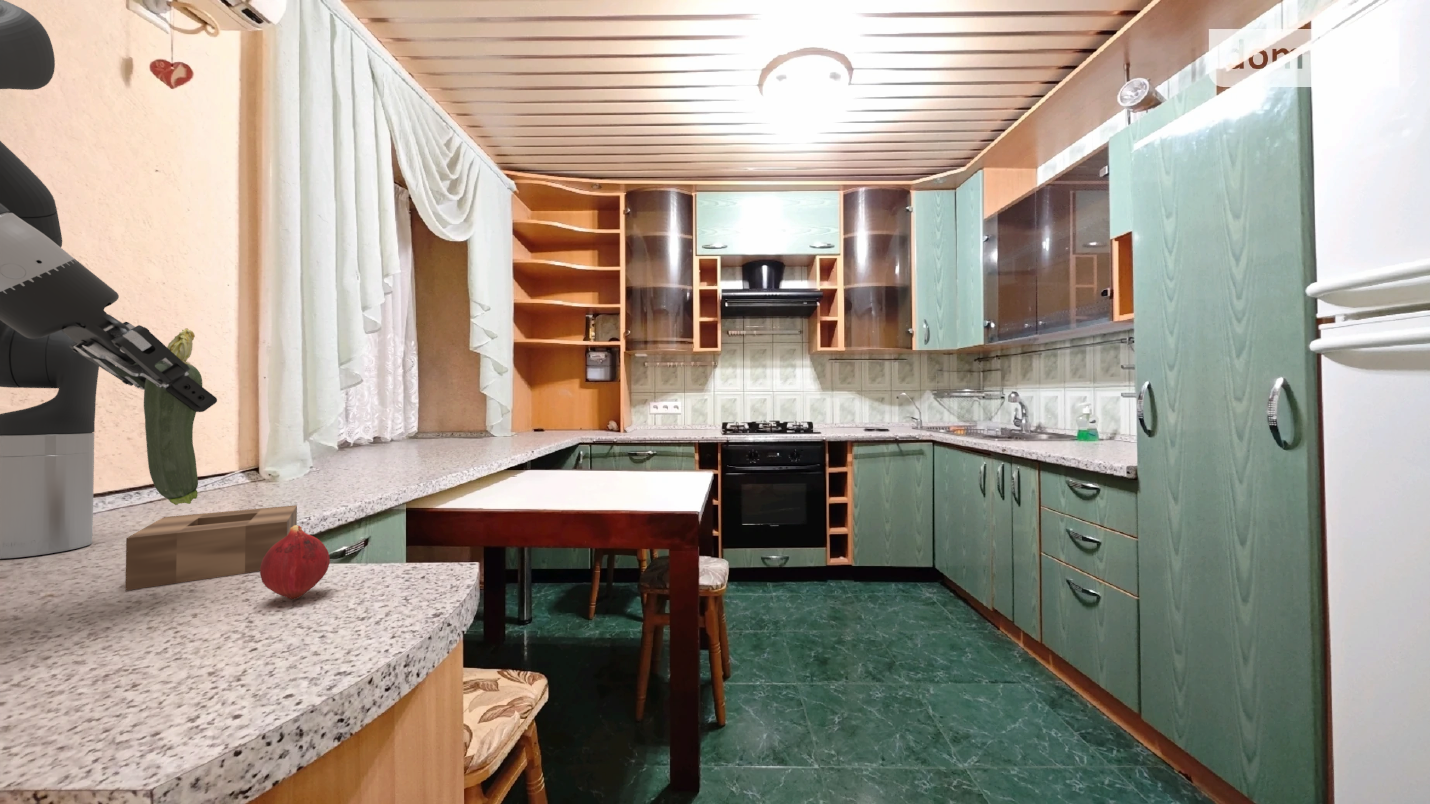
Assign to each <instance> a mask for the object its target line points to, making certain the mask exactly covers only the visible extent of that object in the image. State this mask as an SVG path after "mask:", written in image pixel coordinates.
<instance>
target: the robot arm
mask: <svg viewBox="0 0 1430 804" xmlns="http://www.w3.org/2000/svg"><path fill="white" fill-rule="evenodd" d="M55 61H56V60H55V53H54V47H53V44H52V42H51V38H50V36H49V33H48V31H47V30H46V28H45V27H44V26H43V24H42V23H41V22H40V21H39V20H38V19H37V17H35V16H34V15H33V14H31V13H30V12H28V11H26V10H25V9H24V8H22V7H20V6H19V5H15V4H14V3H11V2H9V1H7V0H0V90H22V91H23V90H24V91H25V90H27V91H28V90H29V91H31V90H32V91H33V90H39V89H42V88H43V87H45V86H47V85H48V84H49V83H50V82H51V80H52V79H53V76H54V75H55V69H56V67H55V65H56V63H55ZM56 205H57V204H56V200H55V197H54V195H53V193H51V191H50V189H48V187H47V186H46V185H45V183H44V182H43V181H42V180H41V179H40V178H39V177H38V176H37V175H36V174H35V172H33V171H32V170H31V168H29V167H28V166H27V165H26V163H24V162H23V161H22V160H21V159H20V158H19V157H18V156H17V155H16V154H15V153H14V152H13V151H12V150H11V149H10V148H9V147H8V146H6V145H5V144H4V142H2V141H1V140H0V388H9V389H11V388H12V389H13V388H16V389H18V388H19V389H58V390H57V393H56V394H55V396H54V397H53V398H51V399H49V400H48V401H45V402H42V403H40V404H37V405H34V406H31V407H28V408H22V409H18V410H13V411H8V412H3V413H0V559H1V560H2V559H16V558H25V557H35V556H41V555H49V554H53V553H60V552H66V551H70V550H75V549H79V548H84V547H87V546H89V545H91V544H93V525H94V523H93V522H94V521H93V520H94V480H95V477H94V476H95V475H94V473H95V470H94V469H95V430H96V429H95V428H96V427H95V423H96V420H95V419H96V400H97V389H98V388H97V387H98V386H97V385H98V380H99V379H98V377H99V371H100V370H99V369H102V370H104V371H106V372H107V373H109V374H111V375H112V376H114V377H115V378H117V379H119V380H120V381H121V382H122V383H123V384H125V385H128V386H131V387H133V386H134V387H135V388H137V389H140V390H143V391H144V388H145V381H146V378H147V379H148V380H150V381H151V382H153V383H154V384H156V386H158V387H159V388H162V389H165V390H166V391H167V392H168V393H170V394H171V395H172V396H174V397H175V398H177V399H178V400H179V401H181V402H182V403H183V404H185V405H186V406H188V407H189V408H190V409H192V410H193V411H195V412H196V413H204V412H205V411H207V410H209V408H211V407H212V406H214V405H215V404H216V403H217V402H218V399H217V397H216V396H215V395H213V394H212V393H211V392H209V391H208V390H207V389H205V388H204V387H203V385H202V386H200V385H199V384H198V383H196V382H195V381H194V380H193V379H191V378H190V377H189V376H187V375H189V373H188V372H187V371H189V370H190V368H189V367H188V365H187V364H185V363H184V362H182V361H181V360H180V359H179V358H178V357H177V356H176V355H175V354H174V353H173V352H171V351H170V350H169V349H168V348H167V347H168V346H167V345H165V344H164V343H163V342H162V341H161V340H160V339H158V338H157V337H156V336H155V335H154V334H153V333H152V332H150V330H149V329H148V328H147V327H145V326H142V325H139V324H138V325H136V326H135V325H133V324H131V323H130V322H129V321H124V322H122V321H120V320H118V319H117V318H115V317H114V316H112V315H111V314H108V313H107V312H106V311H105V308H107V307H108V306H111V305H113V304H114V303H116V301H118V300H119V293H118V292H117V291H116V290H114V288H112V287H111V286H110V285H108V284H107V283H106V282H105V281H103V280H102V279H101V278H100V277H98V276H97V275H95V273H94V272H92V271H91V270H89V269H88V268H87V267H86V266H85V265H83V264H82V263H81V262H79V260H77V259H76V258H74V257H73V256H72V255H71V254H69V253H68V252H67V251H66V250H65V249H64V248H62V246H63V236H62V231H61V225H60V220H59V219H60V218H59V214H58V209H57V206H56ZM157 364H163V365H164V366H166V367H167V369H165V370H164V371H162V372H160V371H159V370H158V369H157V368H156V367H155V365H157Z"/></svg>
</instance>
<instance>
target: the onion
mask: <svg viewBox="0 0 1430 804" xmlns="http://www.w3.org/2000/svg"><path fill="white" fill-rule="evenodd" d="M330 564H331V562H330V554H329V550H328V549H327V546H325V544H324V543H323V542H322V541H321V540H320V539H318V537H315V536H314V535H311V534H308V533H306V532H305V531H304V530H303V527H302V526H300V525H298V524H297V525H294V526H293V527H291V528H290V532H289V534H288V535H287V536H286V537H285V538H283V539H281V540H280V541H278V542H277V543H276V544H274V545H273V546H272V547H271V548H270V549H269V551H268V552H267V553H266V555H265V556H264V558H263V560H262V563H261V569H260V571H259V574H260V575H259V576H260V580H261V582H262V583H263V584H264V586H265V587H266V588H267V589H268V590H269V591H271V592H273V593H275V594H276V595H279V596H282V597H285V598H287V599H288V600H297V599H299V598H301V597H302V596H304V595H305V594H306V593H307V592H309V591H310V590H311V589H313V588H314V587H315V586H316V585H317V584H318V583H319V582H320V581H321V580H322V579H323V578H324V576H325V575H326V574H327V572H328V570H329V567H330Z"/></svg>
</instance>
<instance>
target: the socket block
mask: <svg viewBox="0 0 1430 804" xmlns="http://www.w3.org/2000/svg"><path fill="white" fill-rule="evenodd" d="M297 517H298V505H297V504H293V505H284V506H272V507H262V508H261V507H260V508H251V509H249V508H248V509H241V510H240V509H239V510H228V511H217V512H206V513H203V512H202V513H193V514H184V515H183V514H182V515H171V516H163V517H162V518H160V519H158V520H156V521H154V522H152V523H151V524H149V525H148V526H145V527H144V528H141V529H140V530H138V531H137V532H135V533H133V534H131V535H130V536H129V535H128V537H126V541H125V542H126V543H125V586H124V590H125V591H132V590H138V589H146V588H151V587H158V586H165V585H173V584H180V583H185V582H192V581H193V582H194V581H200V580H201V581H202V580H207V579H214V578H222V577H228V576H234V575H241V574H248V573H249V574H250V573H255V572H260V569H261V563H262V560H263V558H264V556H265V555H266V553H267V552H268V551H269V549H270V548H271V547H272V546H273V545H274V544H276V543H277V542H278V541H280V540H281V539H283V538H285V537H286V536H287V535H288V534H289V532H290V528H291V527H293V526H294V525H298V524H297V523H298V520H297V519H298V518H297Z"/></svg>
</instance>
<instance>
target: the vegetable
mask: <svg viewBox="0 0 1430 804" xmlns="http://www.w3.org/2000/svg"><path fill="white" fill-rule="evenodd" d="M181 330H182V331H180V332H179V333H178V334H177V335H176V336H174V338H173V339H172V340H171V341H170V342H168V345H167V346H166V347H167V348H168V349H169V350H170V351H171V352H173V353H174V354H175V355H176V356H177V357H178V358H179V359H180V360H181V361H182V362H184V363H185V364H187V365H188V367H189V368H190V370H189V371H187V372H188V373H189V375H187V376H189V377H190V378H191V379H193V380H194V381H195V382H196V383H198V384H199V385H200V386H202V387H203V377H202V375H201V372H200V370H198V369H197V367H196V366H195V365H193V364H191V363H190V362H188V361H187V360H188V359H189V358H190V357H191V356H192V351H193V341H194V338H195V333H194V332H193V330H191V329H189V328H184V329H181ZM155 367H156V368H157V369H158V370H159V371H160V372H162V371H164V370H165V369H167V367H166V366H164V365H163V364H157V365H155ZM143 411H144V412H143V414H144V429H145V430H144V431H145V440H146V452H147V453H146V455H147V463H148V464H147V465H148V470H149V474H150V478H151V481H152V483H153V485H154V488H155V489H156V491H157V493H159V495H161V496H162V497H164V499H167V500H168V501H169V502H170V503H171V504H173V505H175V506H177V505H179V504H181V505H182V504H188V505H190V504H192V501H193V500H194V499H195V500H196V499H197V498H198V494H199V493H198V487H199V480H198V479H199V478H198V471H197V460H196V453H195V449H194V445H193V444H194V443H193V440H194V439H193V433H194V431H193V428H194V422H195V418H196V414H197V412H195V411H193V410H192V409H190V408H189V407H188V406H186V405H185V404H183V403H182V402H181V401H179V400H178V399H177V398H175V397H174V396H172V395H171V394H170V393H168V392H167V391H166V390H165V389H162V388H159V387H158V386H156V384H154V383H153V382H151V381H150V380H148V379H147V378H146V381H145V388H144V390H143Z"/></svg>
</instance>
